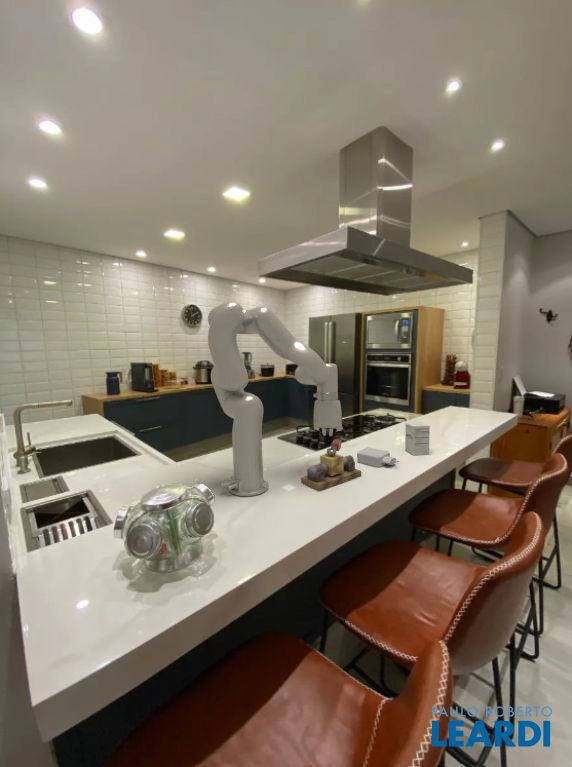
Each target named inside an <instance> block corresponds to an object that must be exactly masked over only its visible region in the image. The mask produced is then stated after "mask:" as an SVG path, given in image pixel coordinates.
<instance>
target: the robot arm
mask: <svg viewBox="0 0 572 767" xmlns="http://www.w3.org/2000/svg"><path fill="white" fill-rule="evenodd" d="M207 322H208V325H209V328H208V334H207V345H208V349H209V352H210V356H211V359H212V362H213V364H214V366H213V367H212V368H211V371H210V380H211V384H212V387H213V389H214V392H215V394H216V397H217V400H218V402H219V404H220V407H221V409H222V411H223V412H224V414H226V416H228V417H229V418H231V419H233V424H232V430H231V431H232V433H231V434H232V435H231V440H232V442H231V443H232V463H233V464H232V465H233V466H232V467H233V475H231V476H230V479H229V480H228V481H224V482H220V483H219V488H220V490H224V489H227V491H229V492H230V493H231V494H233V495H235V496H238V497H254V496H258V495H260V494H264V493H265V492H266V491H267V490H268V489H269V482H267V481H266V480H264V463H263V462H264V461H263V460H264V459H263V438H262V437H263V433H262V432H263V431H262V430H263V429H262V428H263V427H262V426H263V420H264V419H263V418H264V405H263V403H262V401H261V399H260V398H259V397H258V395H255V394H253V393H251V392H247V391H245V388H246V387H247V385H248V383H249V374H248V371H247V368H246V366H245V363H244V361H243V357H242V355H241V353H240V349H239V346H238V342H237V336H238V335H258V336H259V337H260V338H261V339H262V341H264V343H265V344H266V345H267V346H268V347H269V348H270V349H271V350H272V352H273V353H274V354H276V355H277V356H279V358H282V359H285V360H287V361H290V362H292V363H293V364H295V365H297V368H296V369H295V371H294V377H295V379H296V381H297V382H299V383H300V384H302V385H307V386H308V385H309V386H316V389H317V390H316V393H313V398H316V400H315V401H314V406H313V430H314V431H315V430H316V431H319V432H320V433H321V434H322V436H323V443H324V444H325V447H328V448H329V447H330V448H331V443H332V442H333V440H334V439H333V437H334V436H333V435H334V434H335V433H336V432H340V431H343V416H342V415H343V414H342V407H341V406H342V405H341V400H339V392H338V389H339V386H338V385H339V383H338V379H339V378H338V365H337V364H336V363H333V362H332V363H330V362H329V363H327V362H326V363H325V361H324V360H323V359H322V357H321V356H320V355H319V354H318V353H317V352H316V351H315V350H313V349H312V348H311V347H309V346H308V345H306V344H305V343H303V342H302V341H300V340H299V339H298V338H296V337H295V336H294V335H293V333H292V332H290V330H289V329H288V328H287V327H286V325H285V324H284V323H283V322H282V321H281V320H280V318H279V317H278V316H277V315H276V314H275V312H274V311H273V310H272V309H271V308H269V307H268V306H262V305H261V306H257V307H254V308H251V309H244V308H243V306H242V305H241V304H240V303H238V302H236V301H232V300H231V301H226V302H223V303H221V304H219V305H218V306H214V307H213V308H212V309H211V310H210V311H209V313H208V315H207ZM328 429H329V432H328Z"/></svg>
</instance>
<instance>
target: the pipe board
mask: <svg viewBox="0 0 572 767" xmlns="http://www.w3.org/2000/svg"><path fill="white" fill-rule="evenodd" d="M306 472H307V473H306V475H304V476H302V477H301V478H300V480H301V481H300V483H301V484H302V483H303V485H304V484H305V485H304V486H306V485H307V486H306V487H309V488H311V489H312V490H315V491H317V492H321V491H325V490H328V489H331V488H333V487H336V486H338V485H342V484H344V483H347V482H349V481H352V480H355V479H358V478H360V477H362V470H360V469H358V468H356V461H355V458H354V456H352V455H347V456H344V455H340V454H337V453H336V454H327V453H325V454H321V455H319V464H315V465H312V466H309V467H308V468H307V470H306Z"/></svg>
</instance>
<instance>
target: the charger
mask: <svg viewBox="0 0 572 767" xmlns="http://www.w3.org/2000/svg"><path fill="white" fill-rule="evenodd" d="M356 461H357V463H359V464H363V465H368V466H371V467H374V468H380V467H384V466H386V465H388V466H389V465H391V466H393V465H394V464H398V463H400V461H399V460H397V458H395V457H392V456H391V453H390V452H389V451H387V450H383V449H378V448H373V447H369V446H367V447H365V448H362V449H360V450H358V451H357V455H356Z"/></svg>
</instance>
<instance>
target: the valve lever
mask: <svg viewBox="0 0 572 767" xmlns="http://www.w3.org/2000/svg"><path fill="white" fill-rule="evenodd" d="M341 449H342V439H338V438H337V439H333V442H332V443H331V446H330V448H329V447H328V448H327V449H326V454H337V452H339V451H340V450H341Z"/></svg>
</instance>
